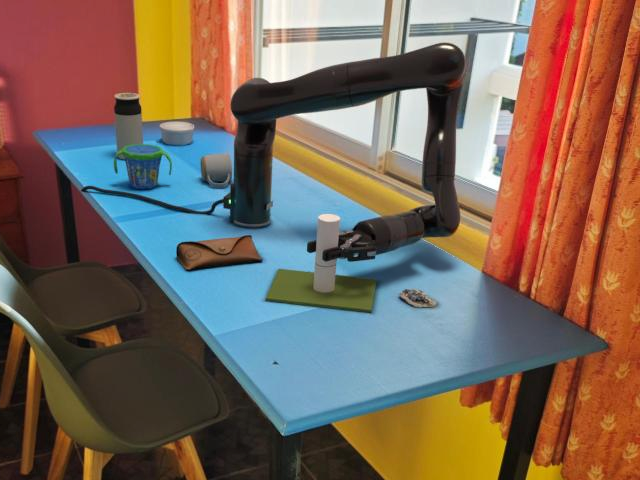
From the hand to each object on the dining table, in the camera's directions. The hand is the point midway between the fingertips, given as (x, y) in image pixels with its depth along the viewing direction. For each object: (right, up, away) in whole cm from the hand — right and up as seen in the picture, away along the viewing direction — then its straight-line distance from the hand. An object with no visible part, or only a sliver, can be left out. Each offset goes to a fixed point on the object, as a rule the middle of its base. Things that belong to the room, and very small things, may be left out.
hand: (316, 251), depth 152 cm
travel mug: (-50, +43, +84) cm, 107 cm away
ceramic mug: (-22, +30, +65) cm, 75 cm away
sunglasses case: (-20, +1, +18) cm, 27 cm away
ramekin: (-37, +53, +100) cm, 119 cm away
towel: (+2, -7, +6) cm, 9 cm away
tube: (+2, -7, +6) cm, 9 cm away
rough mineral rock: (+21, -9, +4) cm, 23 cm away
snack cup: (-43, +28, +60) cm, 79 cm away
